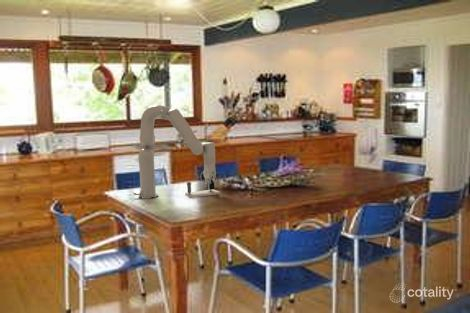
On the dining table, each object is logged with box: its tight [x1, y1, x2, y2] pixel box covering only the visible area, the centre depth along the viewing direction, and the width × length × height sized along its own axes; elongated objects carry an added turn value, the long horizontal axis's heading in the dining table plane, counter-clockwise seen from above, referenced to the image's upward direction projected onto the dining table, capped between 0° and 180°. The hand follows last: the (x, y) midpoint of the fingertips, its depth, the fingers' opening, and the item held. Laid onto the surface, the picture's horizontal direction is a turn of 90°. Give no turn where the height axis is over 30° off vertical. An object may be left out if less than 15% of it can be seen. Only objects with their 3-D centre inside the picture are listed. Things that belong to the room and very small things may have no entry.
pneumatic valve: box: [199, 171, 218, 188], centre depth 349 cm, size 6×12×12 cm, turn 113°
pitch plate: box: [184, 181, 221, 199], centre depth 323 cm, size 20×10×9 cm, turn 116°
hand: (210, 188), depth 326 cm, fingers open, 3 cm apart
